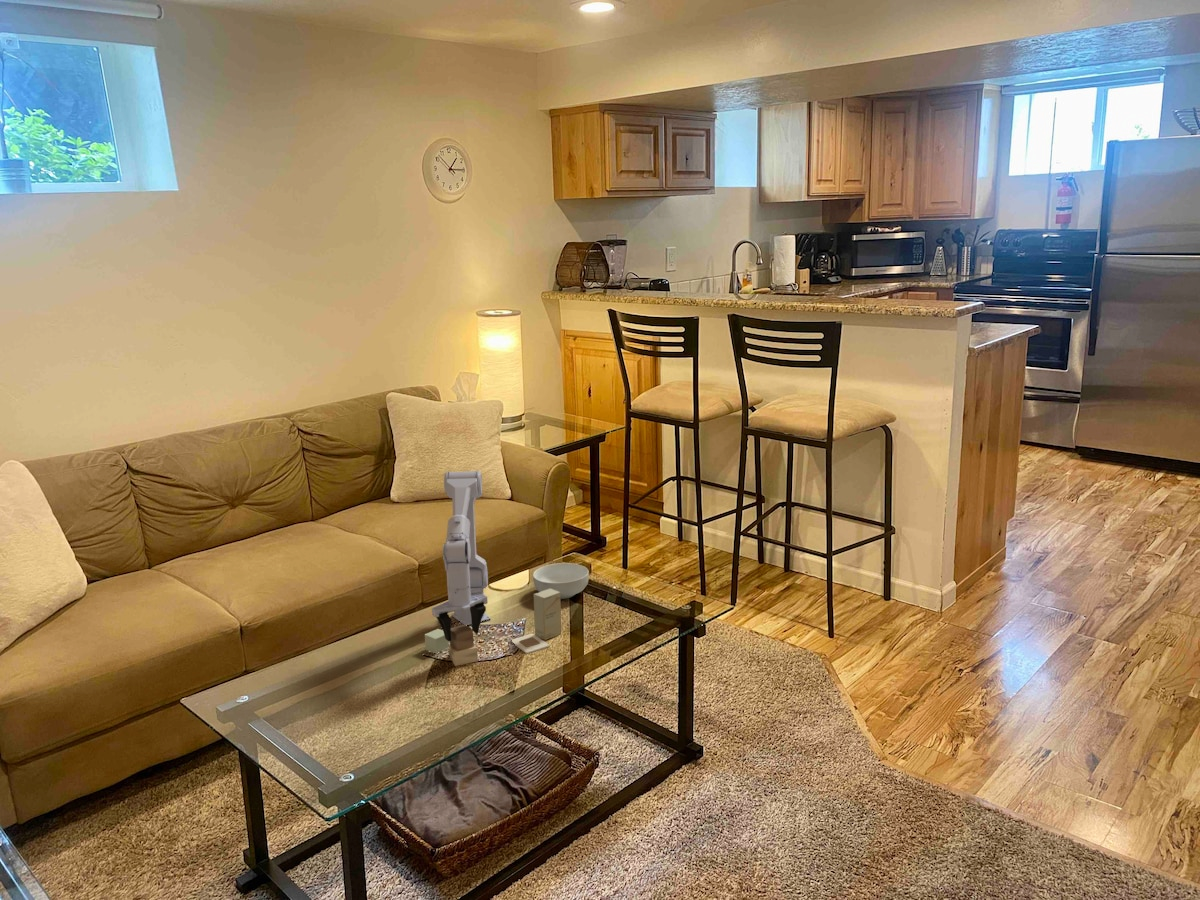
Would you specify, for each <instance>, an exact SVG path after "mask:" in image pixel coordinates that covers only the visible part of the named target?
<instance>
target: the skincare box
mask: <svg viewBox="0 0 1200 900" xmlns="http://www.w3.org/2000/svg"><path fill="white" fill-rule="evenodd" d="M561 604H562V603H561V599H560V592H559V591H556V590H554V589H551V588H549V589H547V590H544V591H541V592H539V591H538V592H536V593H533V611H534V612H533V613H534V618H533V619H534V635H536V636H537V637H539V638H540V639H541V640H543V641H546V640H549V639H551V638H554V637H557V636H560V635H561V634H562V607H561V606H562V605H561Z"/></svg>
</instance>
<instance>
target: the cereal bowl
mask: <svg viewBox="0 0 1200 900" xmlns="http://www.w3.org/2000/svg"><path fill="white" fill-rule="evenodd" d="M589 577H590V572H589V569H588V568H587V567H586V566H584V565H581V564H579V563H578V564H577V563H573V562H559V563H551V564H547V565H543V566H540V567H539V568H537V569H536V570H534V572H533V573H532V580H533V585H534V587H535V589H536V590H537V591H538V592H541V591H544V590H547V589H549V588H551V589H554V590H556V591H559V592H560V600H563V599H564V600H565V599H569V598H572V597H574V596H575V595H576V594H579V593H581V592H582V591H583V590H584V589H585V588H586V587H587V585H588V584H589V579H590V578H589Z"/></svg>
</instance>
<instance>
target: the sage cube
mask: <svg viewBox="0 0 1200 900" xmlns="http://www.w3.org/2000/svg"><path fill="white" fill-rule="evenodd" d="M424 642H425V643H424V645H425V651H427V650H428V651H427V652H429V651H431V652H430V653H432V652H433V653H432V654H434V653H436V654H437V653H438V652H440V651H442V650H443V649H445V648H447V647H449V646H448V643H450V641H448V640H446V639H445V635H444V632H443V629H439V628H436V629H434V630H431V631H429V632H427V633H425V634H424ZM436 654H435V655H436ZM437 655H438V654H437Z"/></svg>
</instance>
